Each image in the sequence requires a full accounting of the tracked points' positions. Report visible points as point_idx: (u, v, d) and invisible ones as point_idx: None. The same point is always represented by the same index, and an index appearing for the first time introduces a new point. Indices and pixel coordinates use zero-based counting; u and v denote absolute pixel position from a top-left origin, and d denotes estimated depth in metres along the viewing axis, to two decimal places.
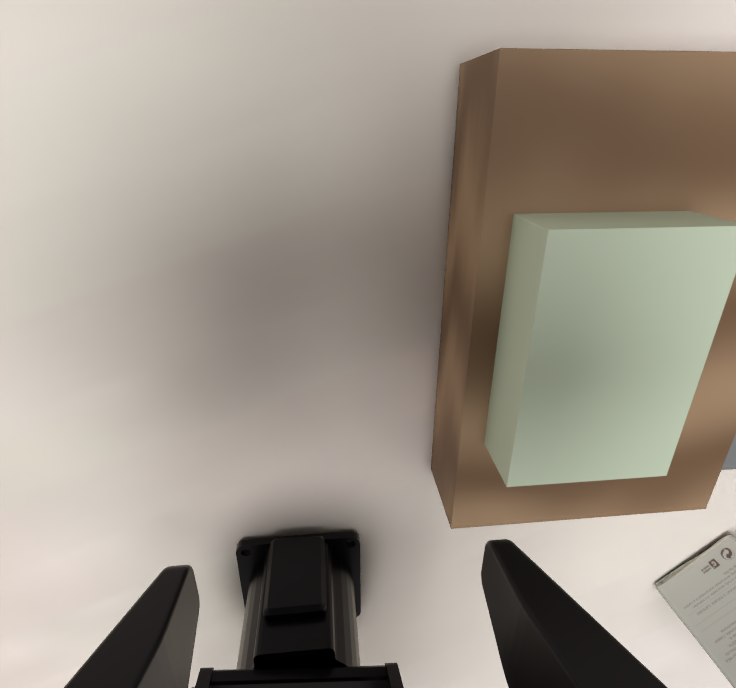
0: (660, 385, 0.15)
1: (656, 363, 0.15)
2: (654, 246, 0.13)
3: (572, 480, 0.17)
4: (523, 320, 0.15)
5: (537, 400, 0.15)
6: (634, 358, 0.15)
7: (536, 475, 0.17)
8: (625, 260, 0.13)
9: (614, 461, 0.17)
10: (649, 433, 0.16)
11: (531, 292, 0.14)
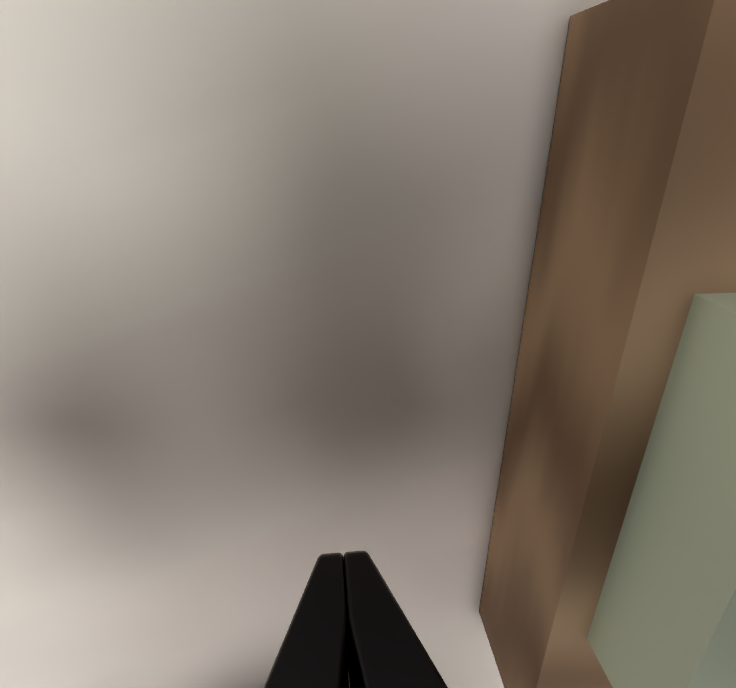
0: None
1: None
2: None
3: None
4: (724, 508, 0.07)
5: (735, 648, 0.08)
6: None
7: None
8: None
9: None
10: None
11: None
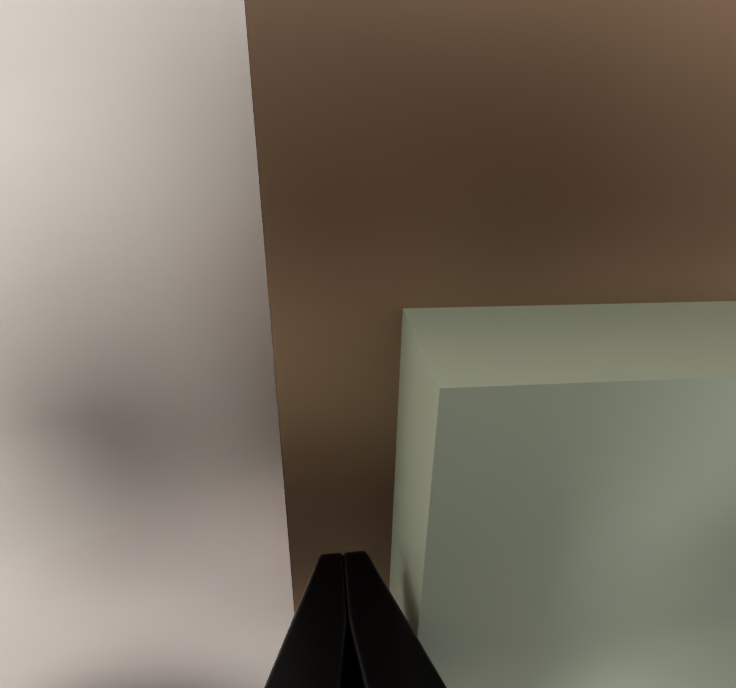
0: (692, 644, 0.08)
1: (686, 614, 0.07)
2: (694, 415, 0.06)
3: None
4: (414, 534, 0.07)
5: (447, 680, 0.08)
6: (641, 608, 0.07)
7: None
8: (626, 444, 0.06)
9: None
10: None
11: (421, 496, 0.06)
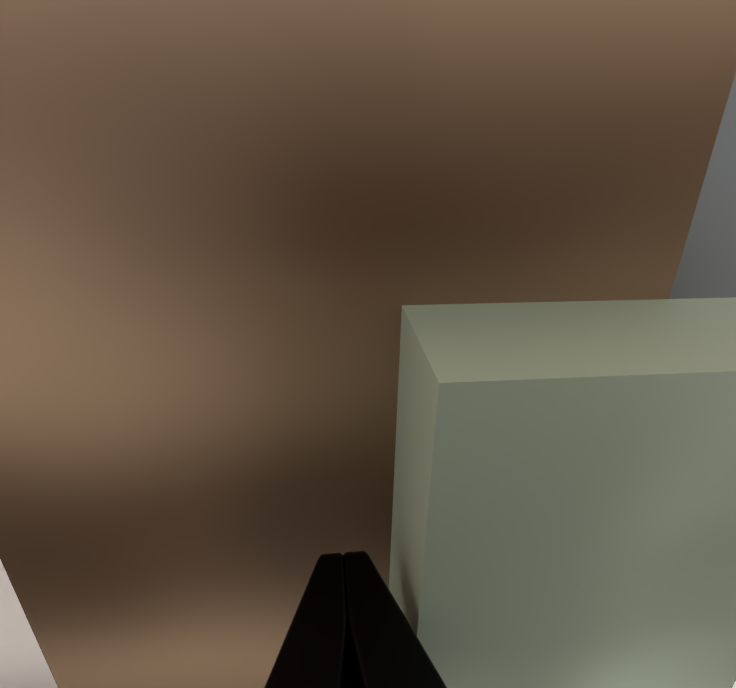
0: (690, 639, 0.08)
1: (685, 609, 0.08)
2: (692, 409, 0.06)
3: None
4: (414, 532, 0.07)
5: (447, 677, 0.08)
6: (640, 603, 0.07)
7: None
8: (625, 439, 0.06)
9: None
10: None
11: (420, 491, 0.06)
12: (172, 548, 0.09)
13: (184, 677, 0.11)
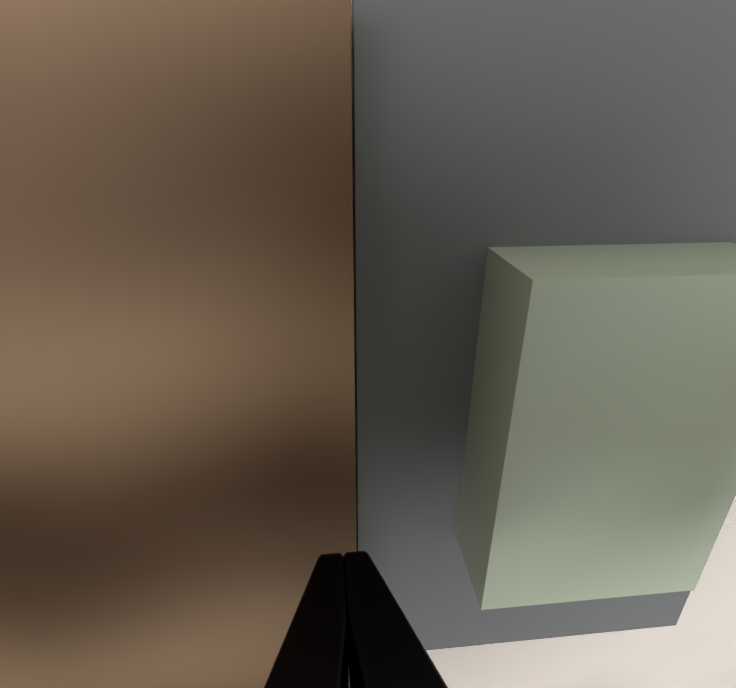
0: None
1: None
2: None
3: None
4: None
5: None
6: None
7: None
8: None
9: None
10: None
11: None
12: None
13: None
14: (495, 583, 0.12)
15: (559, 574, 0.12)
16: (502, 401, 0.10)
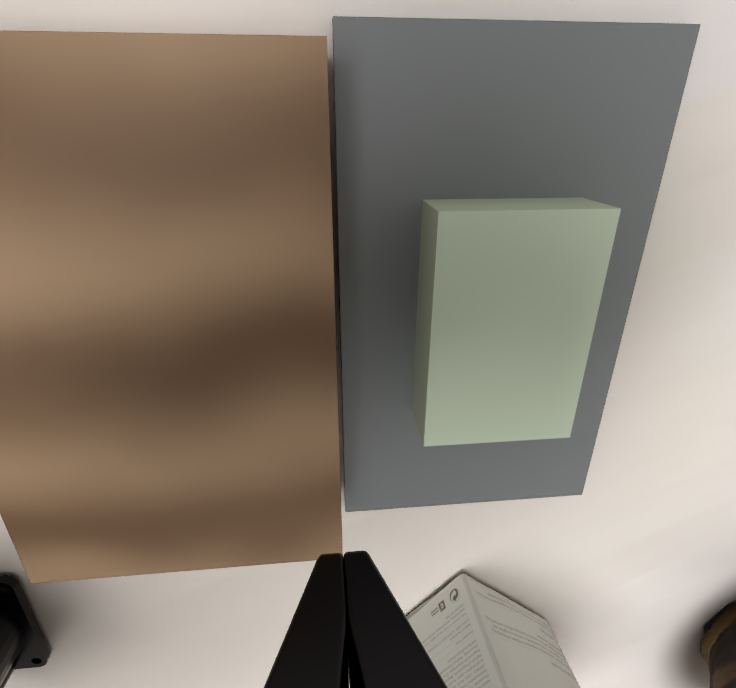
0: None
1: None
2: None
3: None
4: None
5: None
6: None
7: None
8: None
9: None
10: None
11: None
12: (52, 382, 0.15)
13: (73, 485, 0.16)
14: (431, 425, 0.18)
15: (475, 420, 0.18)
16: (429, 295, 0.16)
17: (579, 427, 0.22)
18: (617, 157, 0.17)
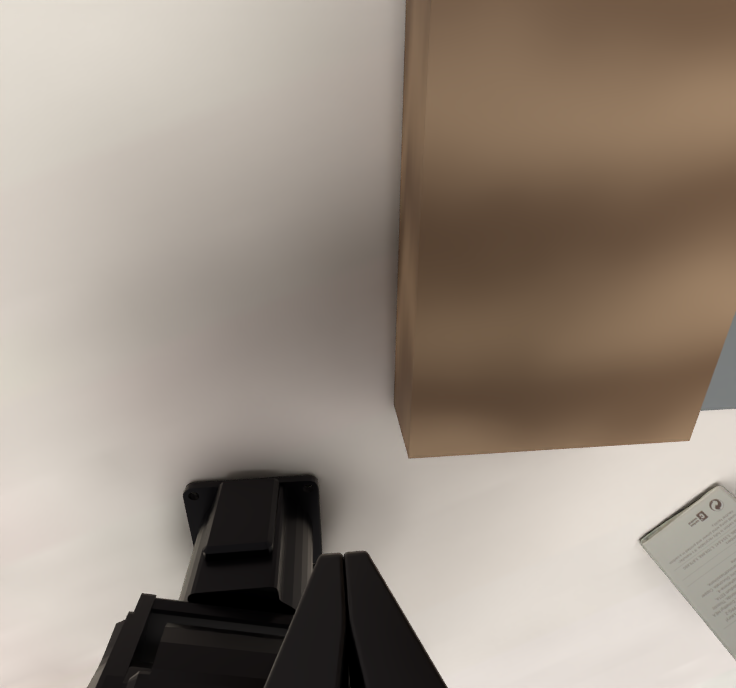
0: None
1: None
2: None
3: None
4: None
5: None
6: None
7: None
8: None
9: None
10: None
11: None
12: (513, 238, 0.15)
13: (488, 351, 0.17)
14: None
15: None
16: None
17: None
18: None
